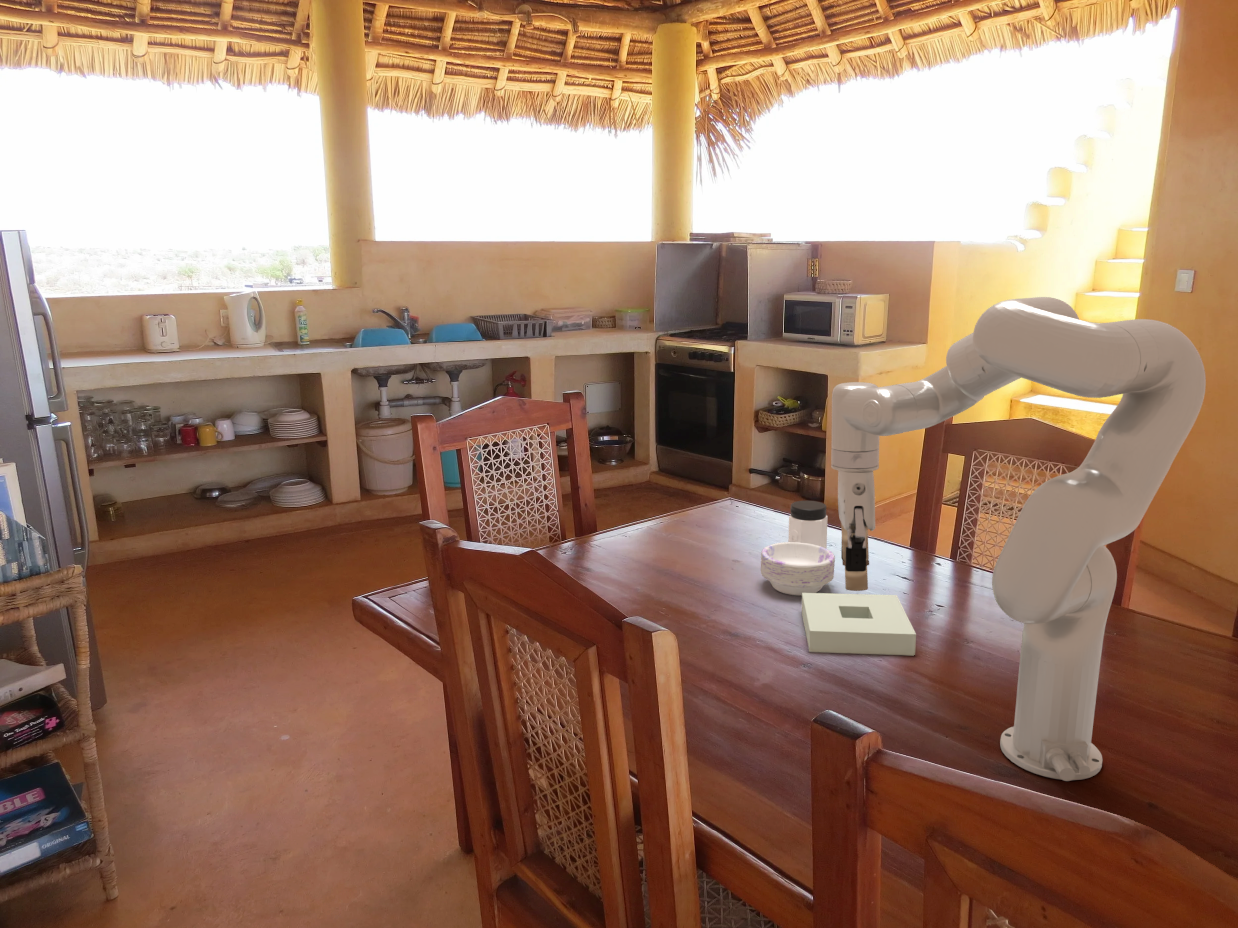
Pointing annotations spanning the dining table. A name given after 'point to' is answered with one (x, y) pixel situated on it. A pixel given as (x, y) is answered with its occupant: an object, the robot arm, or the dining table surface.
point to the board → (857, 624)
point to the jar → (808, 523)
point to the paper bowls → (797, 567)
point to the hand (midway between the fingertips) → (853, 564)
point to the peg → (854, 578)
